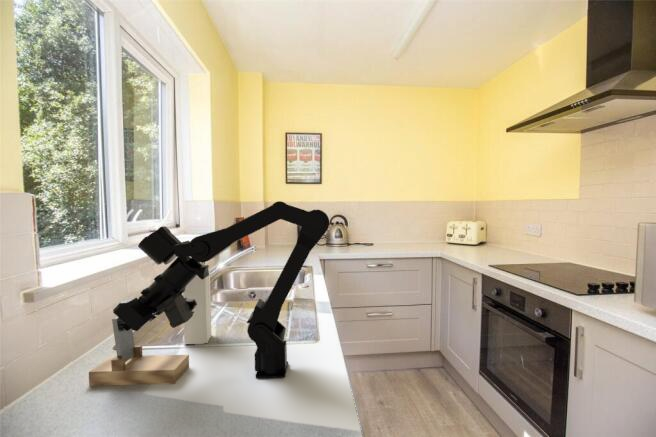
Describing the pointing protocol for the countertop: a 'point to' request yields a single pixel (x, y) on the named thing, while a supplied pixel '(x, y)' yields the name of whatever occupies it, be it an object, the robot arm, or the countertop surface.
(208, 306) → the milk
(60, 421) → the countertop surface
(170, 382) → the body
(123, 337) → the lever cap
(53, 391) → the countertop surface
